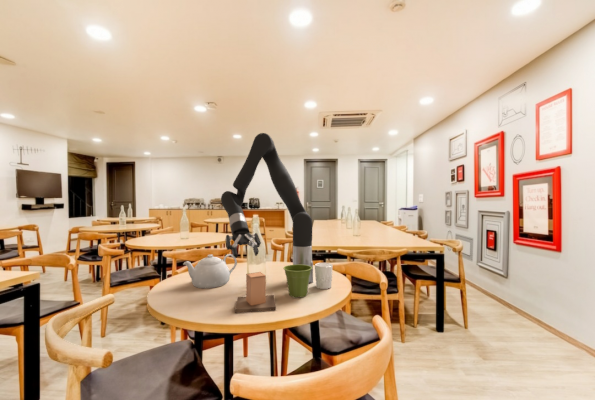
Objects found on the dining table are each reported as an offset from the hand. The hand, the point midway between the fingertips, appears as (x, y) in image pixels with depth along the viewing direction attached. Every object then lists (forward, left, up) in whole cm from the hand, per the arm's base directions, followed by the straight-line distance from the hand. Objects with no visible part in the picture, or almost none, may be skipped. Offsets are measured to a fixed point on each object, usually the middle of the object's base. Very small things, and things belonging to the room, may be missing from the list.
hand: (246, 255), depth 106 cm
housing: (-4, +10, -15) cm, 19 cm away
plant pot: (-21, +3, -17) cm, 27 cm away
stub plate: (-4, +11, -16) cm, 20 cm away
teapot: (+17, -19, -17) cm, 31 cm away
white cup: (-34, -5, -17) cm, 38 cm away
